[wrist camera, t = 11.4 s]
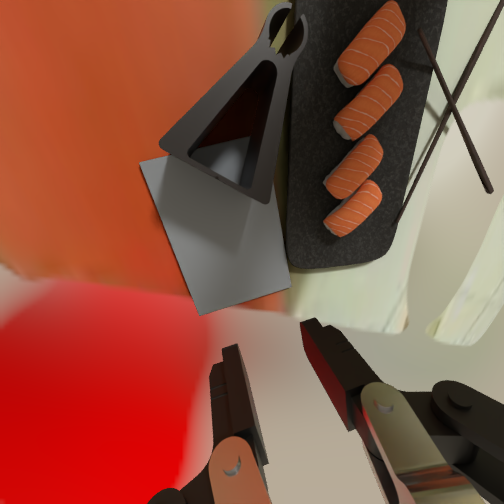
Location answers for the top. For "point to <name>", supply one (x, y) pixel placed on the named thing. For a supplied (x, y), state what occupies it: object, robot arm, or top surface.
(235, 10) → the top surface
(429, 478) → the robot arm
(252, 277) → the mat
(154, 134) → the top surface
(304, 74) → the sushi plate
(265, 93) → the phone stand
